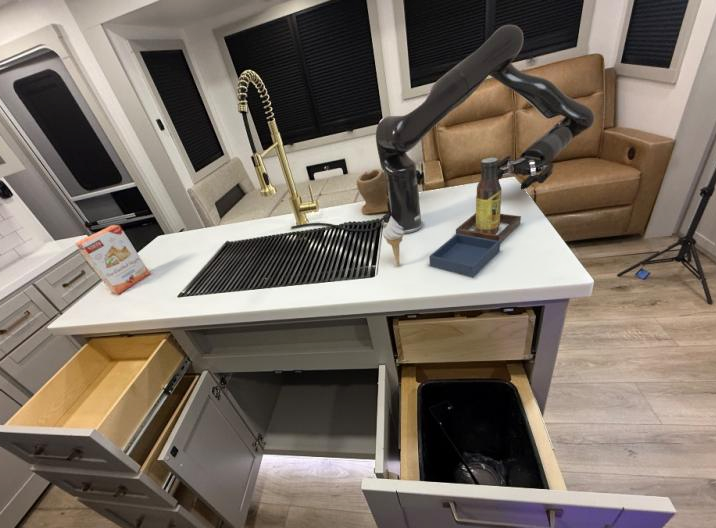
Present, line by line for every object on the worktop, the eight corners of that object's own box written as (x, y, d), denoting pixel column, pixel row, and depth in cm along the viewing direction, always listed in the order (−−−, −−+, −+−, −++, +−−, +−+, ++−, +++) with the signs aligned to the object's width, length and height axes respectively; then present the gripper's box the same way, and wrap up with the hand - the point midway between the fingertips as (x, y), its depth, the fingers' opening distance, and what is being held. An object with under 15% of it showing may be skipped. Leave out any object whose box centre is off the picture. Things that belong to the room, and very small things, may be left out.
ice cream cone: (396, 258, 97) (388, 209, 89) (412, 262, 94) (406, 212, 85) (384, 268, 95) (375, 218, 86) (400, 273, 91) (393, 221, 82)
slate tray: (429, 266, 90) (429, 256, 89) (456, 243, 96) (456, 233, 95) (473, 277, 82) (473, 266, 80) (499, 251, 88) (500, 241, 86)
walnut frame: (455, 237, 99) (455, 229, 98) (478, 218, 105) (478, 210, 104) (498, 244, 91) (499, 236, 89) (520, 224, 96) (521, 216, 95)
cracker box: (119, 295, 123) (81, 244, 111) (111, 292, 126) (73, 243, 114) (151, 273, 132) (119, 224, 120) (143, 272, 135) (111, 224, 123)
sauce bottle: (495, 237, 94) (498, 164, 83) (472, 235, 98) (472, 165, 87) (502, 226, 98) (506, 155, 86) (480, 224, 102) (480, 156, 90)
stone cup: (358, 219, 126) (349, 179, 118) (366, 206, 135) (359, 167, 126) (398, 216, 120) (392, 173, 112) (404, 202, 129) (399, 162, 120)
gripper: (564, 169, 97) (530, 200, 93) (517, 160, 107) (484, 188, 103) (569, 144, 92) (533, 176, 88) (519, 137, 101) (484, 166, 97)
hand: (507, 183), depth 95 cm, fingers open, 8 cm apart
